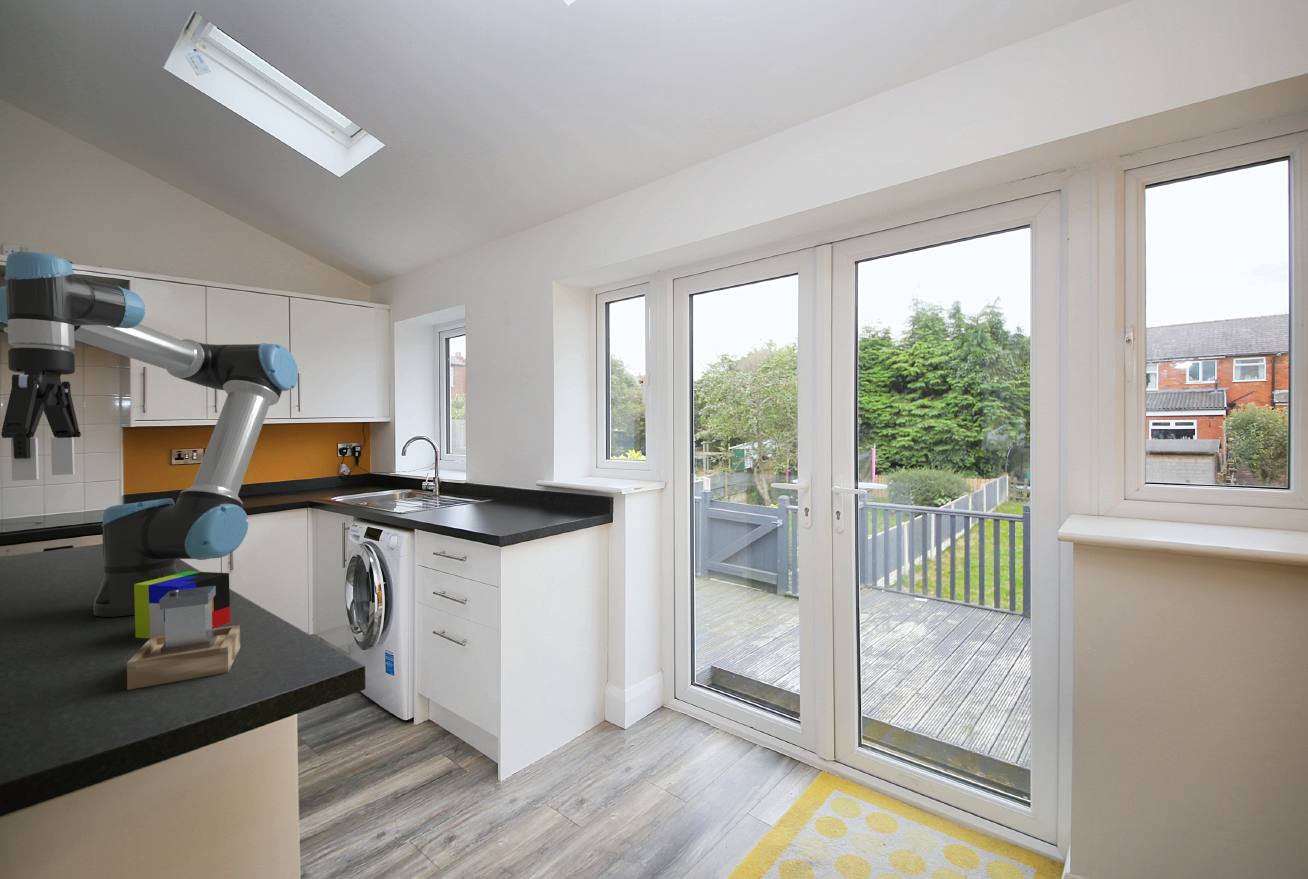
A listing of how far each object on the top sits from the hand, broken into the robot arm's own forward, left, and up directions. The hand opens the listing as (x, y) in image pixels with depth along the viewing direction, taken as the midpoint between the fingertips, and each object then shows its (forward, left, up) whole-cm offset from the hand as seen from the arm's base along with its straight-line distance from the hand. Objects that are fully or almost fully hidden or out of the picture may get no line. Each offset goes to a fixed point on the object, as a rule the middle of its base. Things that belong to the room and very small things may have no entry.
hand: (45, 477), depth 95 cm
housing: (+15, +21, -28) cm, 38 cm away
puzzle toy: (-8, +16, -31) cm, 36 cm away
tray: (+15, +21, -31) cm, 40 cm away
